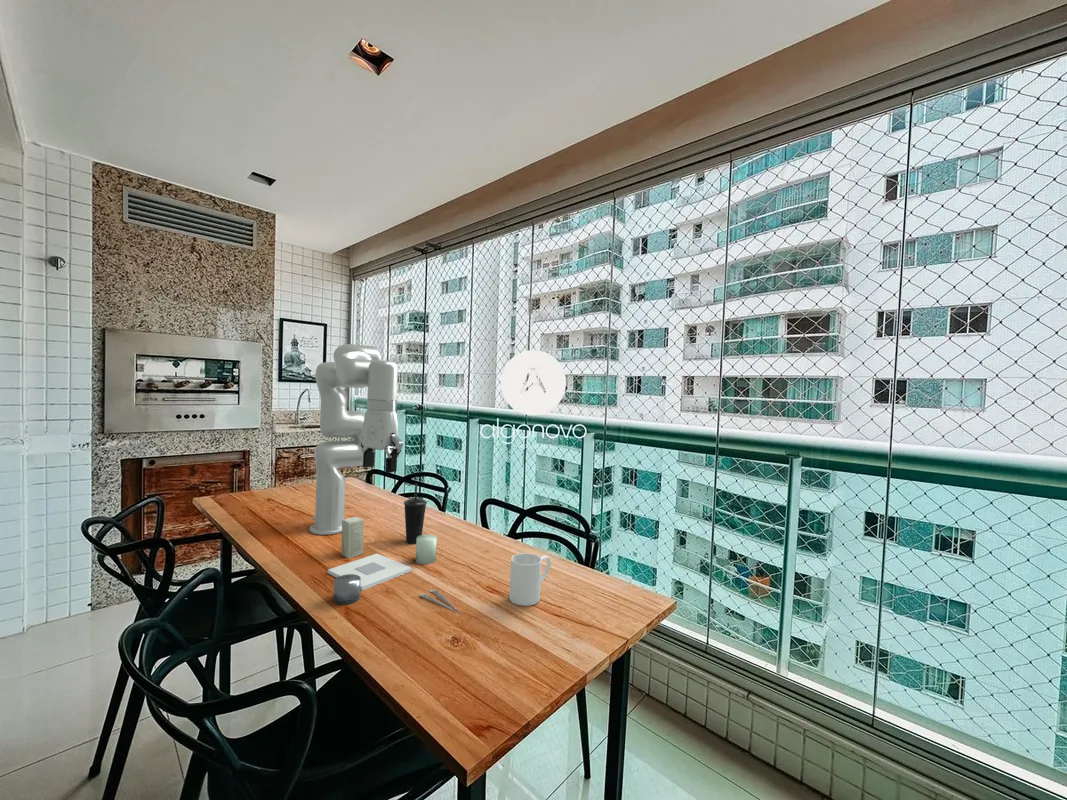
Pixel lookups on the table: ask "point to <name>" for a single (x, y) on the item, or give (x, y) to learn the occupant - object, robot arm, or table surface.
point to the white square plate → (371, 570)
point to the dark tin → (347, 589)
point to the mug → (526, 578)
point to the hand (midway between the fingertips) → (379, 469)
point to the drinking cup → (414, 517)
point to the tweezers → (437, 600)
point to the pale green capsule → (426, 549)
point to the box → (352, 537)
